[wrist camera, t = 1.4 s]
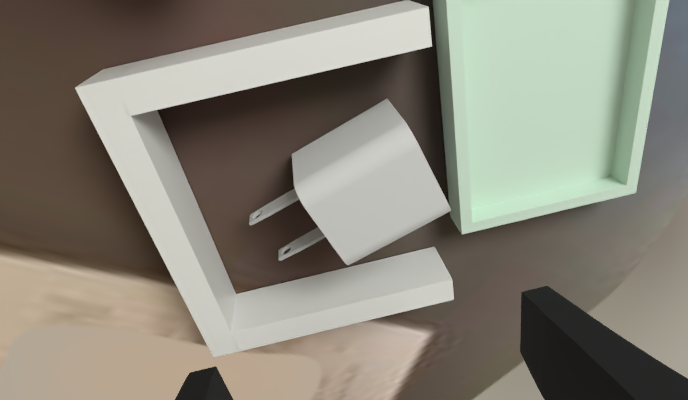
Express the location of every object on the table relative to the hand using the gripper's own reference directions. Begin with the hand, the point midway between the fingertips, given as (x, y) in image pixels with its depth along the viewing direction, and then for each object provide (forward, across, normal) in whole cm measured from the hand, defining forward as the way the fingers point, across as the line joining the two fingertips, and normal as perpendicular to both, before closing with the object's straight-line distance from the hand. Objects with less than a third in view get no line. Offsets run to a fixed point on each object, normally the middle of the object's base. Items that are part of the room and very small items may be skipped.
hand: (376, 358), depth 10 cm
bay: (+10, +1, 0) cm, 10 cm away
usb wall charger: (+10, 0, 0) cm, 10 cm away
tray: (+10, -9, -2) cm, 13 cm away
